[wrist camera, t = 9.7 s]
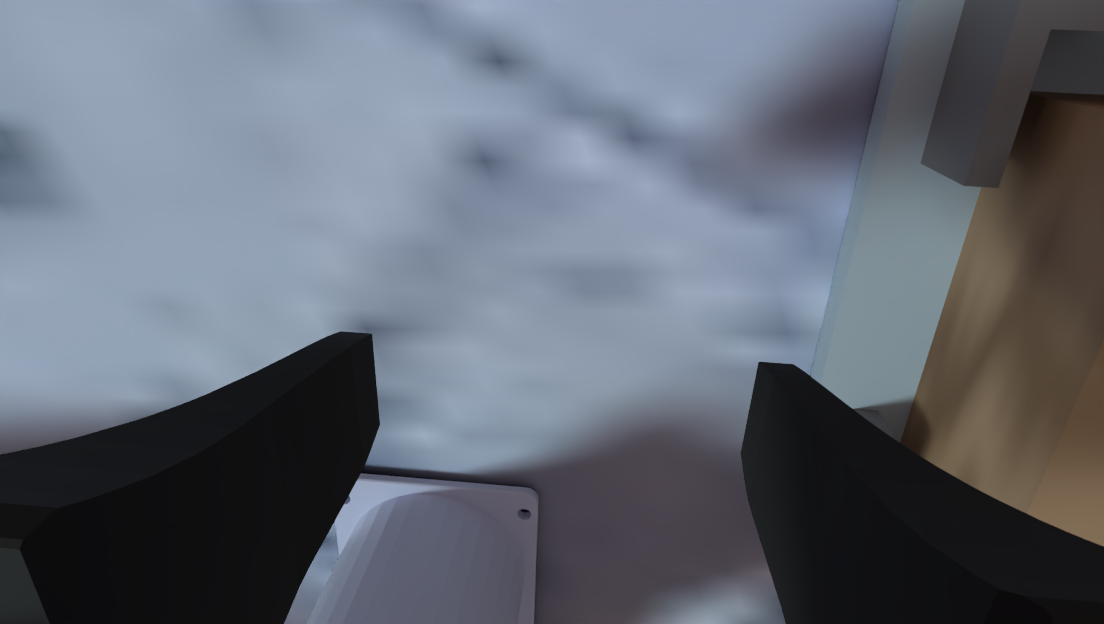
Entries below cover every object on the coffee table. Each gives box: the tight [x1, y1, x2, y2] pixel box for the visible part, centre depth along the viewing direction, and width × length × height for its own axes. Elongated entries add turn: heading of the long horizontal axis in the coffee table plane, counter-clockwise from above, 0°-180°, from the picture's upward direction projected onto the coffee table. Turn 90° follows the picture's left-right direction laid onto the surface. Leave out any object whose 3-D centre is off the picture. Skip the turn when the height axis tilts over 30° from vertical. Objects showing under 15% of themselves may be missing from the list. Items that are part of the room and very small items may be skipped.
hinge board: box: [811, 0, 1104, 442], centre depth 19 cm, size 18×10×4 cm, turn 178°
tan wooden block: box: [900, 91, 1104, 546], centre depth 17 cm, size 12×4×6 cm, turn 178°
